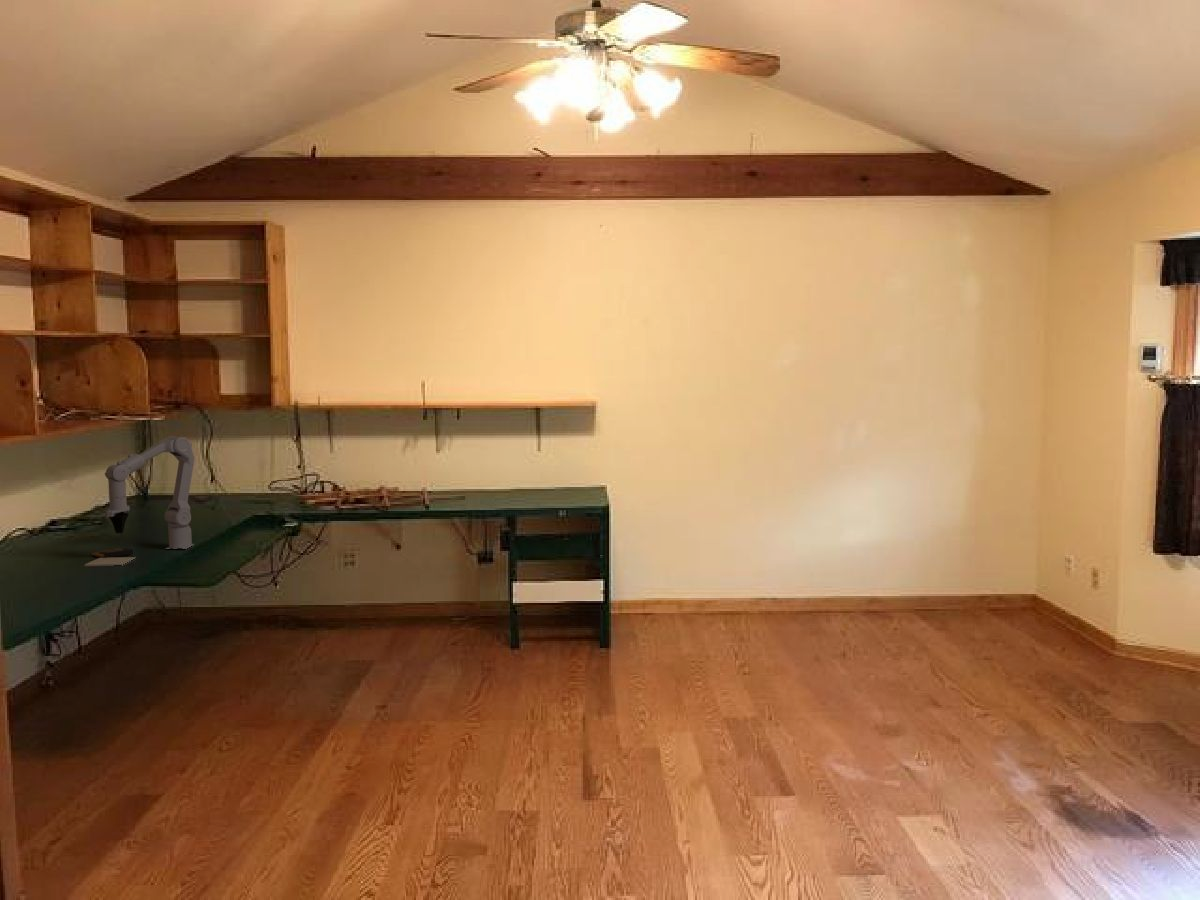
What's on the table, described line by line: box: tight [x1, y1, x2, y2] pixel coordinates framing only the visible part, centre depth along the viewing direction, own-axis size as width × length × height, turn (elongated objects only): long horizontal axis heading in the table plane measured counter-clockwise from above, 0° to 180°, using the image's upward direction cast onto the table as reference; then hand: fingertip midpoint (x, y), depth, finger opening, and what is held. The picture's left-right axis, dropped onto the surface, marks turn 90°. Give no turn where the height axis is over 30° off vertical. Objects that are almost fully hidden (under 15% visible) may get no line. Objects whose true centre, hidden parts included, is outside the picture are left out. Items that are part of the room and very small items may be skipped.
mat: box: [84, 556, 137, 567], centre depth 350 cm, size 12×13×1 cm
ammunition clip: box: [91, 548, 134, 558], centre depth 363 cm, size 11×2×12 cm
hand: (119, 532), depth 358 cm, fingers closed
